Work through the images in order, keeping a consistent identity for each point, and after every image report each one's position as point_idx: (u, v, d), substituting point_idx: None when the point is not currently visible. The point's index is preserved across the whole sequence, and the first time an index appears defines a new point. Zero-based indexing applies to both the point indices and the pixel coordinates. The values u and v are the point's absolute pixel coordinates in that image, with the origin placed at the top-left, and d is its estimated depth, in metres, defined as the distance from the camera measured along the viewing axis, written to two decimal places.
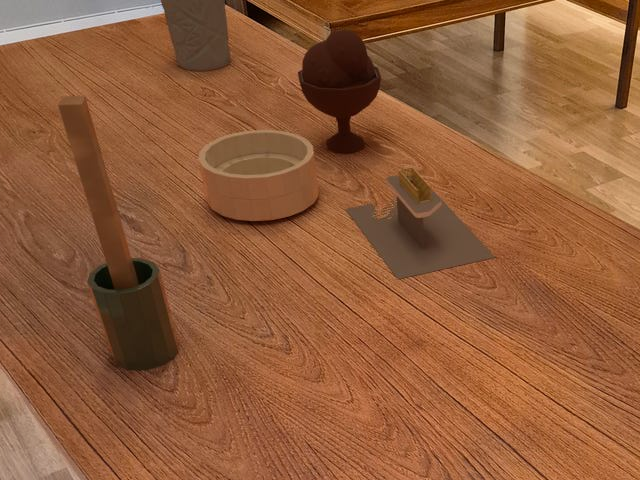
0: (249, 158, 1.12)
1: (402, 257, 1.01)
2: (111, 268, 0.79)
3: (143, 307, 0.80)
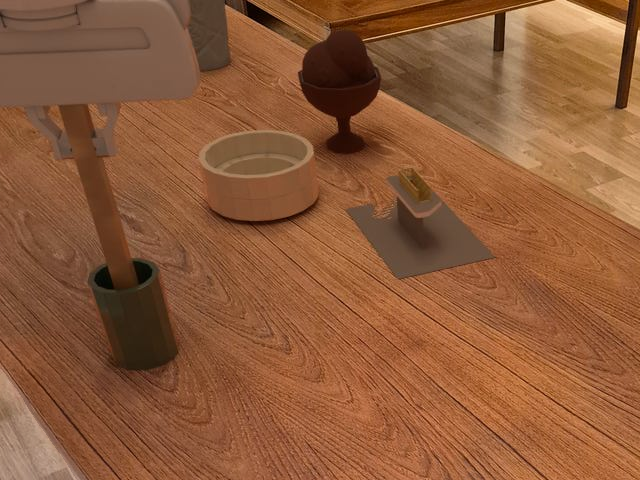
0: (249, 158, 1.12)
1: (402, 257, 1.01)
2: (111, 268, 0.79)
3: (143, 307, 0.80)
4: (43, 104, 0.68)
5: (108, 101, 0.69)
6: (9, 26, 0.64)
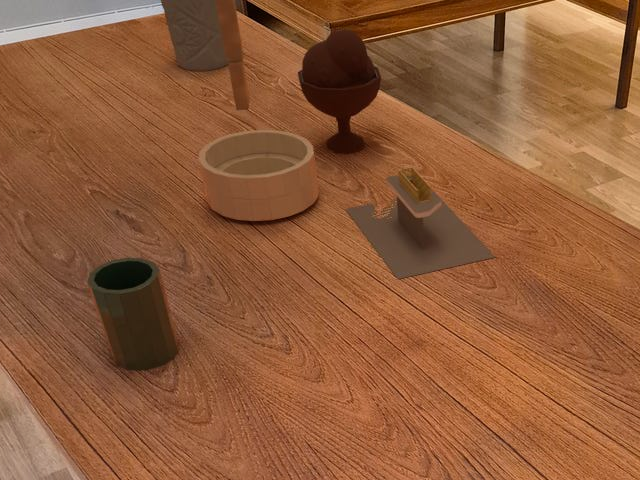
0: (249, 158, 1.12)
1: (402, 257, 1.01)
2: (221, 15, 0.94)
3: (143, 307, 0.80)
4: None
5: None
6: None
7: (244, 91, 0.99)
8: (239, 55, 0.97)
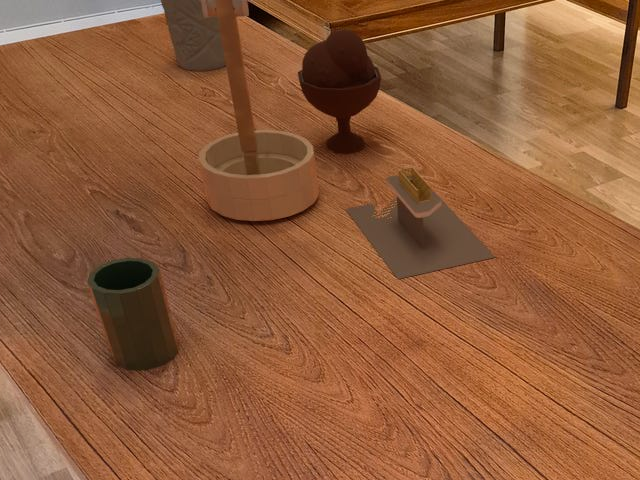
0: None
1: (402, 257, 1.01)
2: (237, 112, 1.01)
3: (143, 307, 0.80)
4: None
5: None
6: None
7: None
8: (253, 146, 1.04)
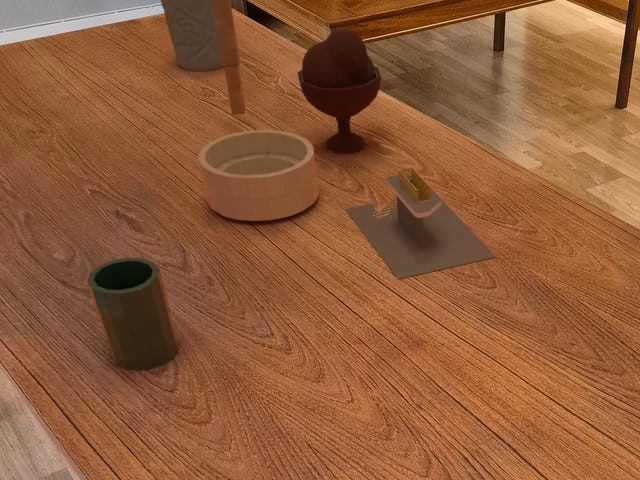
0: (249, 158, 1.12)
1: (402, 257, 1.01)
2: (217, 20, 0.94)
3: (143, 307, 0.80)
4: None
5: None
6: None
7: (240, 96, 0.98)
8: (235, 60, 0.97)
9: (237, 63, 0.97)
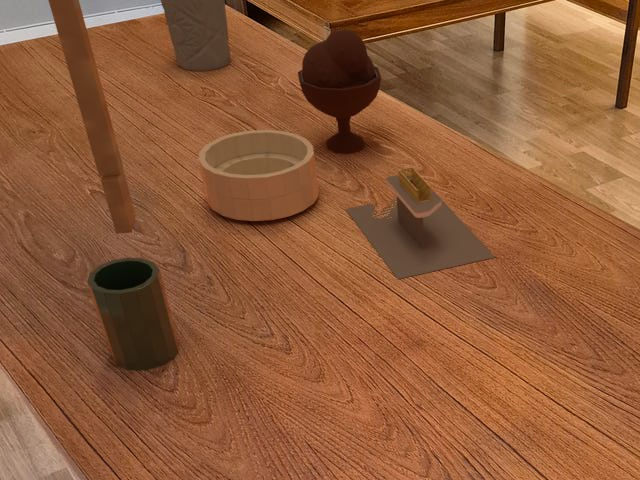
0: (249, 158, 1.12)
1: (402, 257, 1.01)
2: (87, 122, 0.73)
3: (143, 307, 0.80)
4: None
5: None
6: None
7: (124, 211, 0.78)
8: (115, 169, 0.76)
9: (118, 173, 0.76)
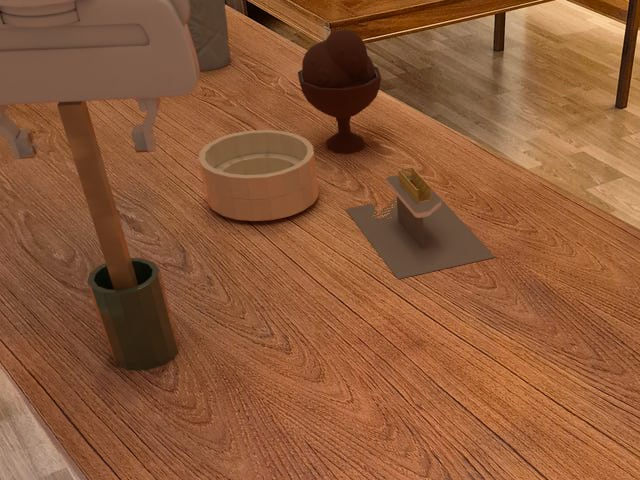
0: (249, 158, 1.12)
1: (402, 257, 1.01)
2: (110, 268, 0.79)
3: (143, 307, 0.80)
4: (42, 101, 0.68)
5: (107, 98, 0.69)
6: (8, 22, 0.64)
7: None
8: None
9: None
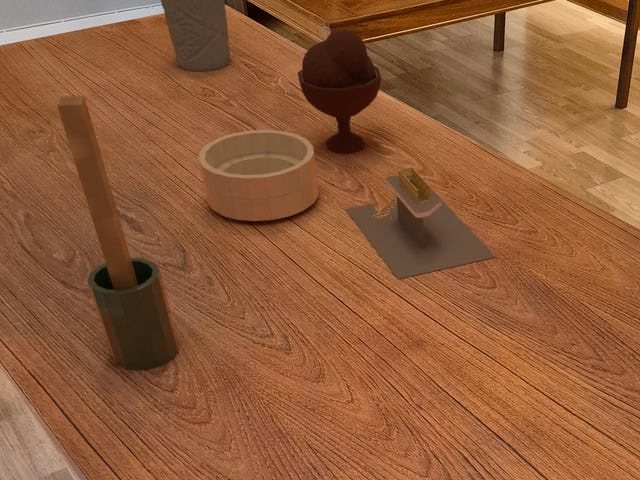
0: (249, 158, 1.12)
1: (402, 257, 1.01)
2: (110, 268, 0.79)
3: (143, 307, 0.80)
4: None
5: None
6: None
7: None
8: None
9: None
